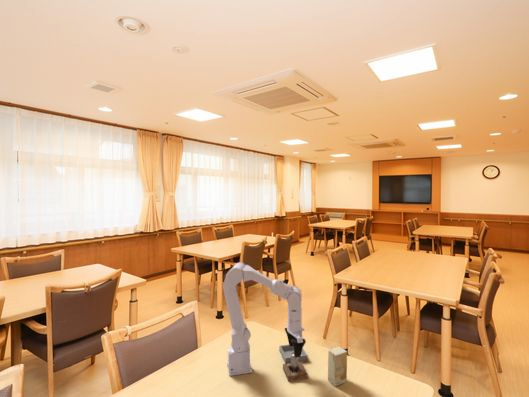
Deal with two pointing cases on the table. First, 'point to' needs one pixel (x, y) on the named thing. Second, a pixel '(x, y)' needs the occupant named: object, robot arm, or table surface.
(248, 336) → the robot arm
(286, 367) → the socket
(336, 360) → the skincare box
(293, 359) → the pin
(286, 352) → the tray
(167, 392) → the table surface
